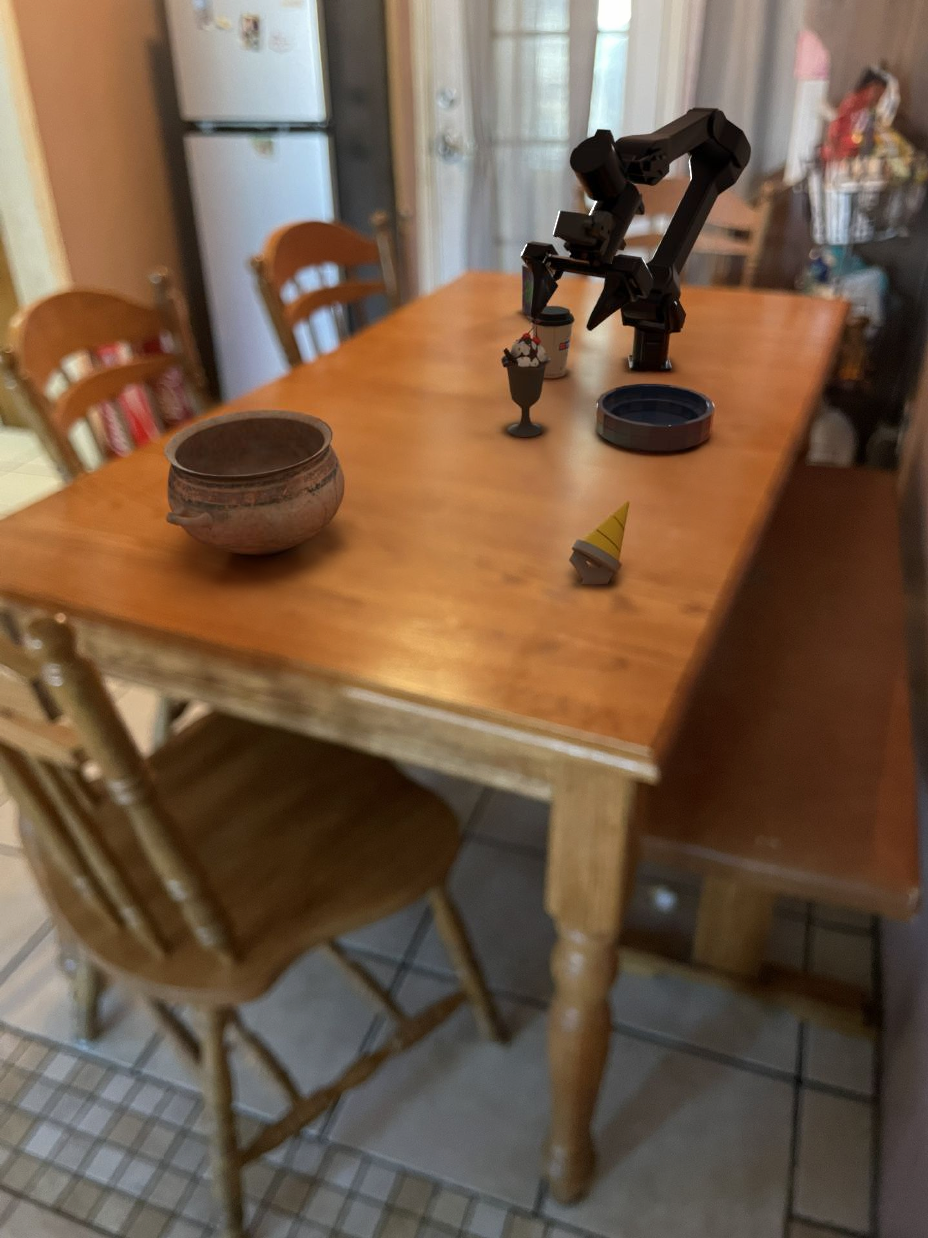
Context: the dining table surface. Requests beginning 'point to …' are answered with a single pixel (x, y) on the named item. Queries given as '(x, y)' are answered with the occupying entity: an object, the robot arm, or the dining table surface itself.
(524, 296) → the flask
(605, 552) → the drill bit
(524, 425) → the sundae
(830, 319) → the dining table surface
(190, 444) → the cooking pot
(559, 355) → the coffee cup
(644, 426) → the bowl
